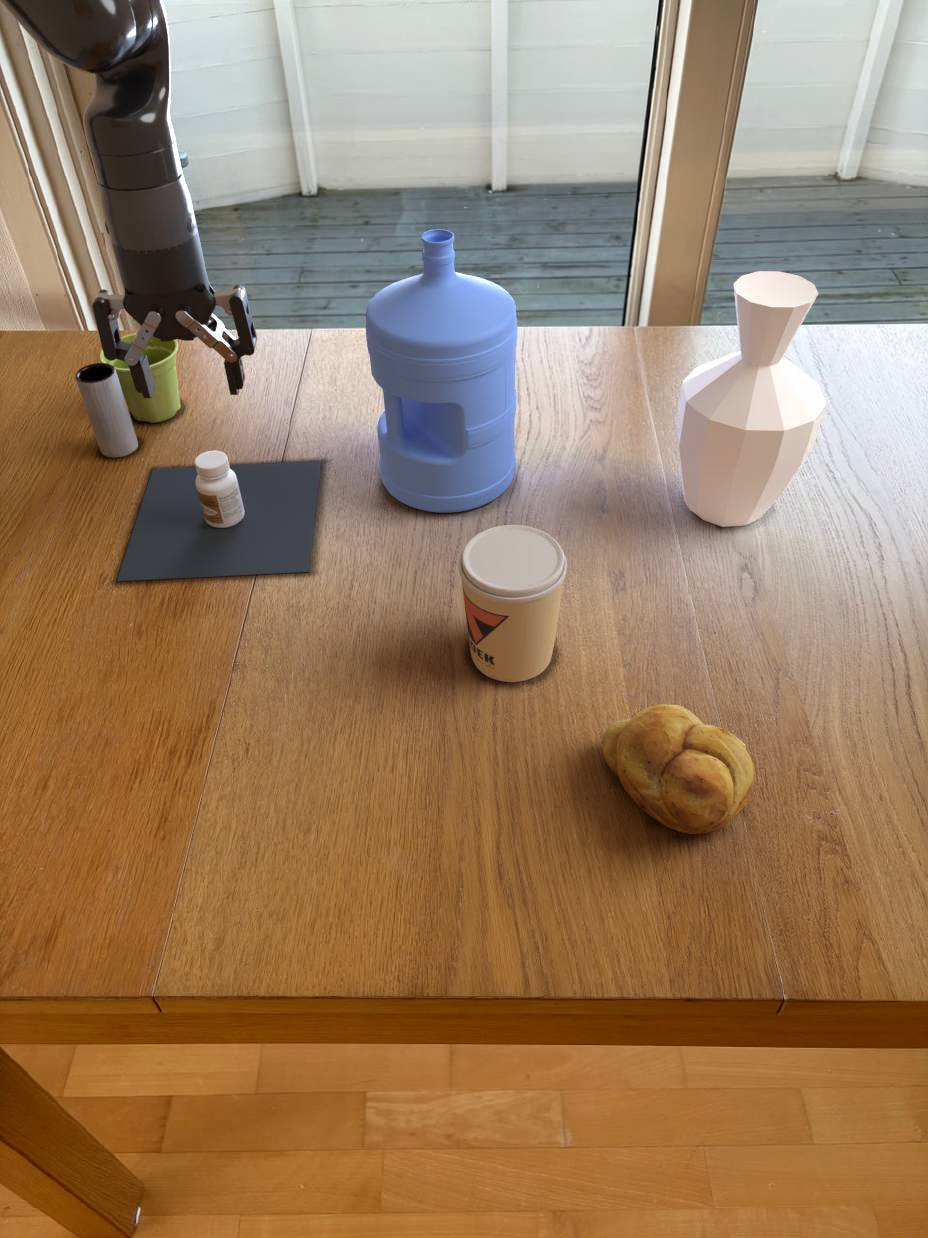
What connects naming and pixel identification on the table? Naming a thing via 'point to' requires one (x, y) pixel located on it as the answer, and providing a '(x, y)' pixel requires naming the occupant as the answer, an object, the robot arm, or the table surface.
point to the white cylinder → (107, 409)
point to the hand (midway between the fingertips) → (192, 392)
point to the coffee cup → (512, 600)
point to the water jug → (444, 383)
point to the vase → (750, 407)
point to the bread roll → (680, 768)
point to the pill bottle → (218, 490)
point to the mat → (257, 545)
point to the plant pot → (163, 376)
